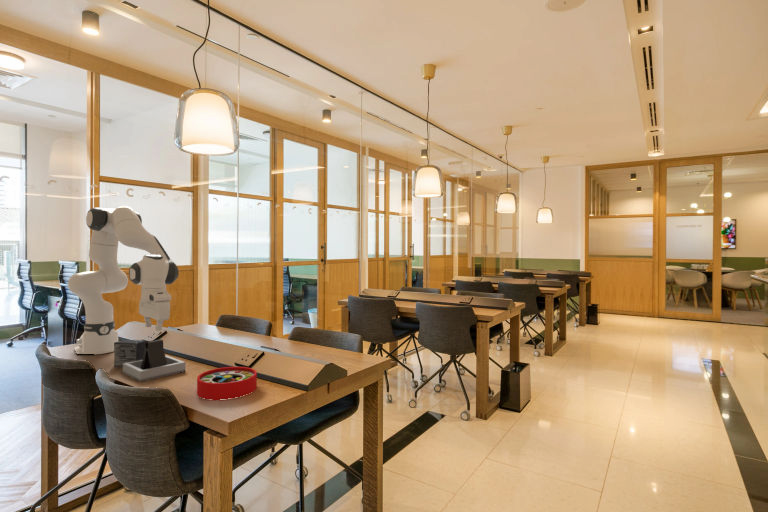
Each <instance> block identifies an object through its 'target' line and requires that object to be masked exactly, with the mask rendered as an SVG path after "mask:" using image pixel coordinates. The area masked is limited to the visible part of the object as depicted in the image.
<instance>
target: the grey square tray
mask: <svg viewBox="0 0 768 512" xmlns="http://www.w3.org/2000/svg"><path fill="white" fill-rule="evenodd" d="M165 358H166V362H167V365H164V366H160V367H155V368H150V369H145V370H142V369H141V365H142V360H138V361H133V362H128V363H123V367H122V374H123V373H124V375H125V374H126V375H125V376H127V375H128V376H127V377H129V376H130V377H129V378H131V377H132V378H131V379H133V378H134V379H133V380H135V379H136V381H137V380H138V381H137V382H139V381H140V382H139V383H142V382H141V381H143V382H147V381H146V380H148V381H152V380H156V379H160V377H161V378H164V376H165V377H169V376H173V375H172V374H174V375H177V374H176V373H178V374H181V373H180V372H182V373H185V372H186V361H184V360H181V359H178V358H175V357H172V356H171V355H167V354H165ZM184 371H185V372H184ZM168 375H169V376H168ZM155 378H156V379H155ZM151 379H152V380H151Z"/></svg>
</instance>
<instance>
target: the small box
mask: <svg viewBox="0 0 768 512" xmlns="http://www.w3.org/2000/svg"><path fill="white" fill-rule="evenodd" d="M145 342H147V340H143V339H141V340H140V339H122V340H118V342H114V351H113V352H114V355H113V356H114V359H113V360H114V361H113V362H114V363H113V367H115V368H123V363H128V362H133V361H138V360H143V356H144V351H145Z"/></svg>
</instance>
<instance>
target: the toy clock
mask: <svg viewBox="0 0 768 512" xmlns="http://www.w3.org/2000/svg"><path fill="white" fill-rule="evenodd" d="M257 372H258V371H257V370H255V369H254V368H251V367H247V366H227V367H225V366H224V367H218V368H214V369H213V368H212V369H210V370H206V371H203V372H202V373H199V374H198V375H197V378H196V396H197V395H198V396H199V398H200V397H201V398H200V399H202V398H205V399H204V400H206V399H213V400H212V401H216V400H219V401H221V400H220V399H228V398H235V397H240V396H243V395H246V394H249V393H251V392H253V391H254V390H255V389H256V388H257V387H258V383H257V382H258V375H257V374H258V373H257ZM256 390H257V389H256ZM256 390H255V391H256ZM255 391H254V392H255ZM254 392H253V393H254ZM251 394H252V393H251ZM249 395H250V394H249ZM198 396H197V397H198Z"/></svg>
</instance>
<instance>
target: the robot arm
mask: <svg viewBox="0 0 768 512" xmlns="http://www.w3.org/2000/svg"><path fill="white" fill-rule="evenodd" d="M85 220H86V221H85V223H86V226H87V227H88V229H90V230H92V233H91V237H90V244H89V253H88V256H89V257H88V258H89V259H90V261H92V263H94V264H97V266H98V270H93V271H91V270H89V271H82V272H78V273H73V274H71V276H70V277H69V279H68V282H67V285H68V289H69V291H70V292H71V293H73V295H76V296H77V297H78V299H80V300H81V302H82V304H83V306H84V310H85V311H84V313H85V323H84V325H83V330H84V331H83V333H82V334H81V336H80V337H79V338H77V339H76V344H77V345H78V346H74V349H75V350H74V352H75V351H76V352H75V354H76V353H77V354H94V355H103V354H108V353H113V352H114V342H118V341H119V332H118V331H117V330H115V328H116V327H115V324H116V323H115V320H114V306H113V304H112V303H111V302H110V301H107V300H104V298H103V294H107V293H108V294H109V293H117V292H120V291H123V290H125V289H126V287H128V283H129V280H130V282H132V283H133V284H134V285H136V286H138V285H139V286H141V288H140V290H141V291H140V293H141V294H140V295H141V296H140V299H139V305H138V313H139V315H141V316H143V319H144V324H145V328H151V327H152V326H153V325H152V322H151V321H152V320H151V319H153V320H156V326H155V331H157V332H159V331H160V332H161V331H162V329H163V324H164V321H168V320H169V318H170V316H171V315H170V314H171V302H170V301H172V295H171V293H169V292H168V290H167V285H172V284H173V283H174V282H176V281H177V279H178V278H179V273H180V272H179V268H178V265H177V264H176V263H175V262H174V261H173V260H172V259H171V258H170V256H169V255H168V253H167V252H166V250H165V248H164V247H163V245H162V244H161V243H160V241H159V239H158V238H157V237H156V236H155V235H153V234H151V233H150V232H149V231H148V230H147V229H146V228H145V227H144V226H143V219H142V216H141V215H140V213H139V212H138V211H135V210H134V209H133V208H131V207H129V206H126V205H122V206H119V207H116V208H108V207H107V208H104V207H93V208H90V209H88V211H87V213H86V217H85ZM119 243H121V244H122V245H124V246H126V247H129V248H133V249H139V250H142V251H145V252H147V253H148V254H144V255H143V256H142V259H141V260H140V261H137V262H134V263H133V264H132V265H131V266H130V267H129V269H128V276H127V274H126V273H125V272H124V271H123V270H122V269H121V268H120V266H119V263H118V248H119ZM128 277H129V278H128Z"/></svg>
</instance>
